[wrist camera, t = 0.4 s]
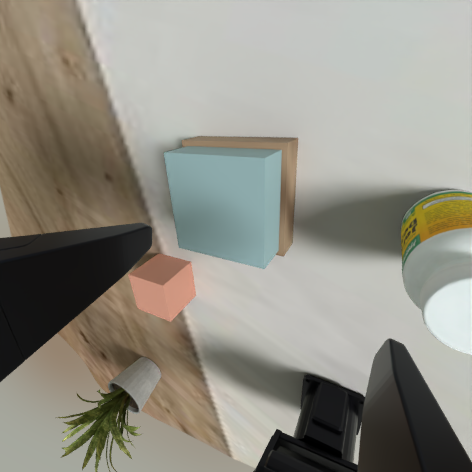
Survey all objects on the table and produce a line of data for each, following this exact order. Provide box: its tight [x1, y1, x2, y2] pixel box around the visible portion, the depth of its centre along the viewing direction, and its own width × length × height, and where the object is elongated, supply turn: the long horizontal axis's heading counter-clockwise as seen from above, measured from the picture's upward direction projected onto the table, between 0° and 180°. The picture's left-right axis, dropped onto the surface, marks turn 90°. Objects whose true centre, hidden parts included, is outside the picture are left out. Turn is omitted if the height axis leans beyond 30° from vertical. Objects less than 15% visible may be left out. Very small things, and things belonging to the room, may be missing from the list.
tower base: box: [182, 136, 298, 256], centre depth 23 cm, size 9×9×3 cm
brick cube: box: [128, 254, 196, 322], centre depth 32 cm, size 5×5×5 cm
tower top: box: [164, 146, 282, 269], centre depth 21 cm, size 8×8×3 cm
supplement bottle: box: [401, 190, 472, 355], centre depth 14 cm, size 5×5×10 cm
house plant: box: [59, 357, 161, 472], centre depth 44 cm, size 14×14×16 cm
